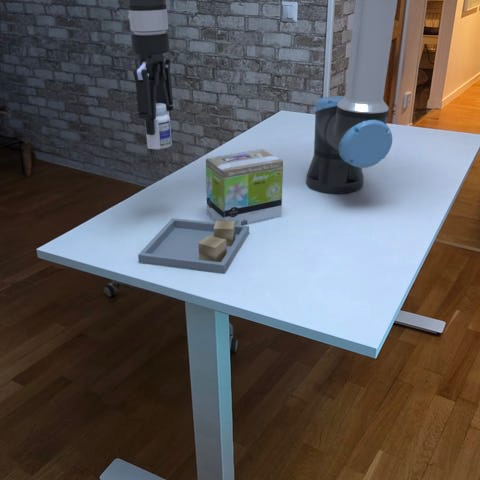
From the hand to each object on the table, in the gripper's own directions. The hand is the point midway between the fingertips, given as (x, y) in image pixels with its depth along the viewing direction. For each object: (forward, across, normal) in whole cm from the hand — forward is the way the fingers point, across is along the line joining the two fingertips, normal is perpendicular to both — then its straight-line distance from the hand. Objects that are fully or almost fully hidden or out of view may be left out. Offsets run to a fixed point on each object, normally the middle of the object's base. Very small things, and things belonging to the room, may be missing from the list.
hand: (159, 144), depth 124 cm
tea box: (+19, -6, +17) cm, 26 cm away
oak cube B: (+18, +16, +17) cm, 29 cm away
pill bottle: (0, 0, 0) cm, 0 cm away
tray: (+19, +12, +12) cm, 25 cm away
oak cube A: (+18, +8, +17) cm, 26 cm away
